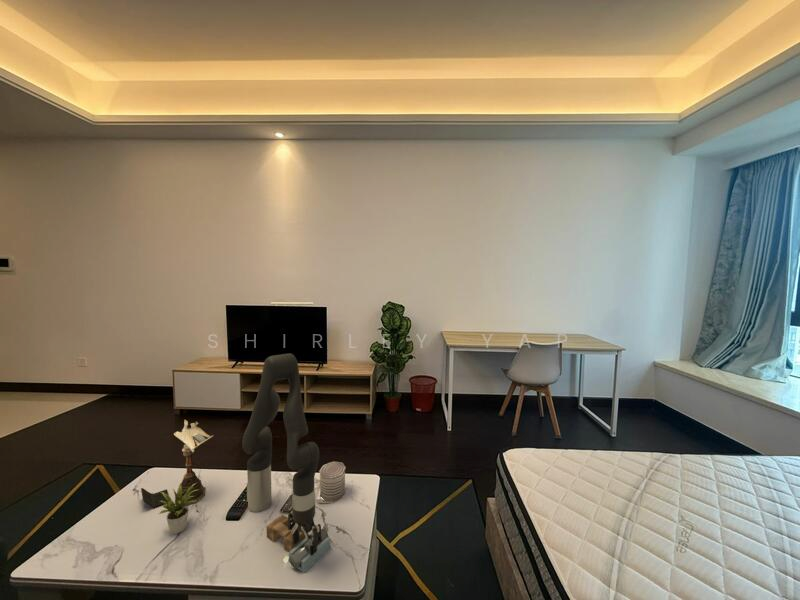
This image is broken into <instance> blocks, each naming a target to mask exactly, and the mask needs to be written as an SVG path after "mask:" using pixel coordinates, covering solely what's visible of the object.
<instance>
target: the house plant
mask: <svg viewBox="0 0 800 600" xmlns="http://www.w3.org/2000/svg"><path fill="white" fill-rule="evenodd" d="M195 484H196V483H195ZM195 484H193V485H192V486H191V487H190V488H188V490H187V489H186V490H187V492H186V493H185V495H184V496H182V497H181V495H182V493H183V492H182V486H181V484H179V485H178V487H177V491H175V489H174V488H172V490H173V494H174V497H173V499H174V498H175V499H176V505H175V501H173V500H172V498H171V497H170V495H167V494H165V493H164V492H161V493H162V494H163V495H164V497H165V498H166V500H167V502H168V503H167V502H165V501H160V502H163V503H165V504H166V505H163V506H162V508H164V509H162V510H161V511H159V513H158V515H160V514H165V513H167V515H166V522H167V524H168V530H169V533H170V534H172V535H176V534H180V533H181V532H183V531H184V530H186V528H187V524H188V517H189V511H190V510H189V508H188V507H189V506H191V505H192V504H191V503H193V502H196V501H195V500H191V501H188V502H187V503H186V501H187V500H188V499H189V498H190V497H193V496H189V495H190V494H191V493H192V492H194V491H197V490H193V491H191V492H190V490H191V489H192V488H193V486H194V485H195ZM186 490H185V491H186ZM185 491H184V492H185ZM189 492H190V493H189ZM188 493H189V494H188ZM190 502H191V503H190ZM188 503H190V504H191V505H190V504H189V505H187V506H185V505H186V504H188Z"/></svg>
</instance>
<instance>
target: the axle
mask: <svg viewBox="0 0 800 600" xmlns="http://www.w3.org/2000/svg"><path fill="white" fill-rule="evenodd" d="M321 537H322V541H324V540H325V539H326V538H327V537H329V533H328V531H327V530H326V529H325V528H321ZM311 539H312V540H313V537H312V538H311ZM317 539H318V538H317ZM322 541H321V542H322ZM321 542H320V543H321ZM320 543H319V544H320ZM319 544H318V545H319ZM318 545H317V546H318ZM309 553H310V543H309V540H308V541H307V542H306V543H305V544H304V545H303V546H301V547H300V548H299V549H298V550H297V551H296V552H294V553H293V554H292V555H291V556H290V558H289V557H288V559H289V560H290V562H289V563H290V565H291V567H292V568H293V569H298V568H297V567H298V566H299V565H300V564H301V560H303V559H304V558H305V557H306V556H307V555H308V554H309Z"/></svg>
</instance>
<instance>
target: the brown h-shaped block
mask: <svg viewBox="0 0 800 600" xmlns="http://www.w3.org/2000/svg"><path fill="white" fill-rule="evenodd" d="M265 528H266V538H267V539H268V540H270V541H271V542H273V543H274V542H275V541H277V540H278V539H279V538H280V537H283V550H284V551H286V552H287V553H289V552H290V551H291V550H292V549H293V548H294V547H296V546H297V545H298V544H299V543H300V542H302V541H303V540H304V539H305V538H306V537H305V535H304V534H303V533H302V532H300V531H299V530H298V531H299V542H298V543H296V544H295V545H294V544H293V540H292V533H291V530H288V516H286V515H284V514H280V515H279V516H278V517H276V518H275V519H273V520H272V521H270V522H269V523H268V524H267V525H266V527H265Z"/></svg>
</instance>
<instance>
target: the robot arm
mask: <svg viewBox="0 0 800 600" xmlns="http://www.w3.org/2000/svg"><path fill="white" fill-rule="evenodd" d="M262 367H263V368H262V371H261V378H260V382H259V383H260V384H259V388H258V392H257V396H256V399H255V401H254V404H253V408H252V412H251V416H250V419H249V422H248V424H247V427H246V429H245V431H244V433H243V436H242V442H241V447H242V450H243V452H244V453H246V454H247V455H252V454H254V455H252V456H251V457H250V458H249V459H248V461H247V464H246V468H247V469H246V471H247V475H246V476H247V483H246V503H247V502H248V505H247V508H248V510H249V511H250V512H252V513H258V512H263V511H265V510H267V509H268V508H269V507H270V506H271V505H272V498H273V497H272V456H273V451H272V450H273V434H272V431H271V428H270V427H269V426H268V425H270V423H271V422H273V420H274V419H275V418H276V416H277V414H278V412H279V409H280V406H281V398H280V395H279V394H278V392H277V390H276V389H275V388H274V384H275V383H277V382H278V381H284V380H288V384H289V388H288V390H289V392H288V394H287V395H288V396H287V399H286V402H285V405H284V408H283V413H282V418H283V424H284V428H285V432H286V438H287V440H286V442H287V444H286V445H287V446H286V447H287V448H286V464H287V466H288V467H289V469H290V470H292V471H296V473H294V475H293V476H292V495H291V497H292V499H291V500H292V501H291V502H292V503H291V507H292V509H291V511H290V512H289V513H288V514H287V517H288V530H291V533H292V540H293V544H294V545H295V544H296V543H298V542H299V531H300V532H302V533H303V534H304V535H305V537H306V539H308V540H309V543H310V555H311V556H312V555H313V554H315V553H316V552H317V545H318V544H319V543H320V542H321V541H322V537H321V529H322V526H321V525H322V524H320V523H318V524H315V520H314V518H315V516H316V492H315V477H316V472H317V468H318V464H319V459H320V449H319V446H318V444H317V443H316V442H315V441H307V442H305V443H303V444H300V445H299V444H298V443H299V440H300V439H301V438H303V437H305V436H306V435H307V434H308V433H309V428H308V424H307V419H306V415H305V411H304V406H303V401H302V399H303V398H302V388H301V387H302V386H301V380H300V379H301V378H300V370H299V362H298V360H297V358H296V356H295V355H294V354H293V353H282V354H275V355H270V356H268V357H267V358H265V359H264V363H263V366H262ZM298 530H299V531H298ZM310 532H311V533H310ZM312 536H313V540H312V539H311V537H312ZM317 538H318V539H317Z"/></svg>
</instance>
